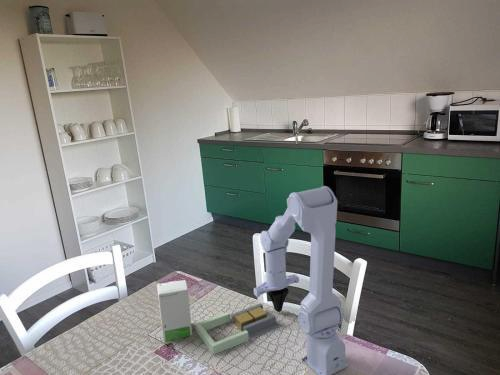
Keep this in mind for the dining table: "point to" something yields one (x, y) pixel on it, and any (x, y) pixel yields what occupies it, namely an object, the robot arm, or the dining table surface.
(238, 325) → the chip
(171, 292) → the skincare box
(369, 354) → the dining table surface
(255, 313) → the chip
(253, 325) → the green and grey tray
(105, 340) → the dining table surface
